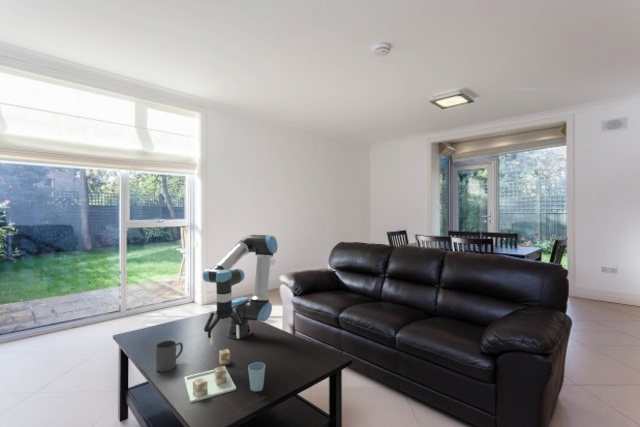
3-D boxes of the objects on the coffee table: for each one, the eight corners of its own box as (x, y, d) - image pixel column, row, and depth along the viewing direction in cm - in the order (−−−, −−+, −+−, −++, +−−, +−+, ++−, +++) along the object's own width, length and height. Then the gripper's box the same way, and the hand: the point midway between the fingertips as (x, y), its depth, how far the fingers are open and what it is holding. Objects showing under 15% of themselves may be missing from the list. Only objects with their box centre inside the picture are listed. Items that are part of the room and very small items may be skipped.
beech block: (224, 378, 149) (224, 365, 149) (226, 382, 145) (226, 369, 145) (214, 380, 146) (214, 367, 146) (216, 385, 143) (216, 372, 142)
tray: (224, 369, 157) (225, 366, 157) (236, 391, 139) (236, 387, 139) (184, 380, 148) (184, 376, 148) (190, 404, 130) (190, 400, 130)
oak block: (227, 359, 168) (227, 348, 168) (229, 363, 164) (229, 352, 164) (219, 361, 166) (219, 350, 165) (221, 365, 162) (221, 354, 162)
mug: (162, 374, 153) (162, 349, 153) (152, 368, 158) (152, 345, 158) (187, 362, 164) (187, 340, 164) (177, 358, 169) (177, 336, 169)
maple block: (203, 390, 139) (202, 377, 139) (207, 394, 135) (207, 381, 135) (192, 394, 135) (192, 380, 135) (197, 399, 132) (197, 385, 132)
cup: (244, 388, 141) (244, 365, 141) (259, 382, 146) (260, 360, 146) (253, 396, 136) (253, 372, 135) (268, 389, 141) (268, 366, 140)
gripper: (245, 294, 171) (246, 332, 172) (197, 302, 158) (198, 343, 159) (250, 298, 165) (250, 337, 166) (200, 306, 152) (201, 349, 153)
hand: (224, 340), depth 162 cm, fingers open, 13 cm apart
